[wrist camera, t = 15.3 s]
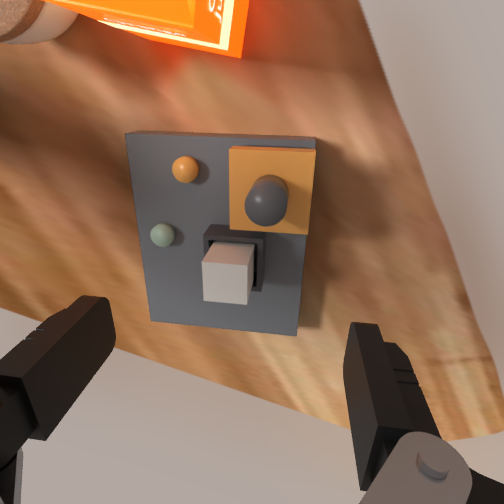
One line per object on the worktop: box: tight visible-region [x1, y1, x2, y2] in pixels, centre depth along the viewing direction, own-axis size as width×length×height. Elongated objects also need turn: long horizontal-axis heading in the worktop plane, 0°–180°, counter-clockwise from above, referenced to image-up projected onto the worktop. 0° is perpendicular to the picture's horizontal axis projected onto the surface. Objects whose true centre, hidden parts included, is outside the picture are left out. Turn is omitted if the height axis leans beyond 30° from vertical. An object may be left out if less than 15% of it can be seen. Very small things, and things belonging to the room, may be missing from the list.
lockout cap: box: [229, 146, 316, 235], centre depth 25 cm, size 7×7×5 cm
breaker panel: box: [125, 131, 316, 336], centre depth 35 cm, size 18×22×6 cm
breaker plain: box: [202, 241, 254, 305], centre depth 31 cm, size 4×4×4 cm
